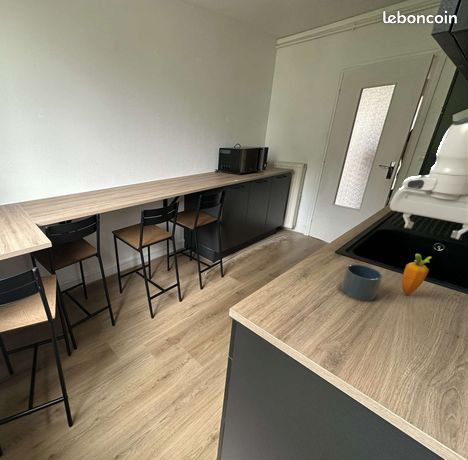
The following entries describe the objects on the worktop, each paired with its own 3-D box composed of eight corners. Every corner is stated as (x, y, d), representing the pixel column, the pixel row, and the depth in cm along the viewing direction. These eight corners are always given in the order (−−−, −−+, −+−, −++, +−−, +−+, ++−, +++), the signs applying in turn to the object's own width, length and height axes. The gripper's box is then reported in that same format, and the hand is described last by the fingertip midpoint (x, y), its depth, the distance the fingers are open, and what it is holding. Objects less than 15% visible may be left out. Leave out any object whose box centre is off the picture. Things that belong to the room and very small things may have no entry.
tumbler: (378, 293, 82) (386, 272, 79) (368, 304, 78) (376, 283, 74) (347, 281, 89) (353, 261, 86) (336, 291, 84) (342, 270, 81)
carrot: (416, 294, 81) (434, 253, 75) (416, 302, 78) (435, 260, 72) (396, 288, 84) (411, 248, 78) (395, 295, 81) (411, 254, 75)
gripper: (517, 188, 59) (489, 241, 64) (403, 176, 74) (388, 220, 80) (515, 193, 55) (486, 249, 61) (396, 180, 71) (381, 225, 76)
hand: (430, 232), depth 70 cm, fingers open, 8 cm apart
